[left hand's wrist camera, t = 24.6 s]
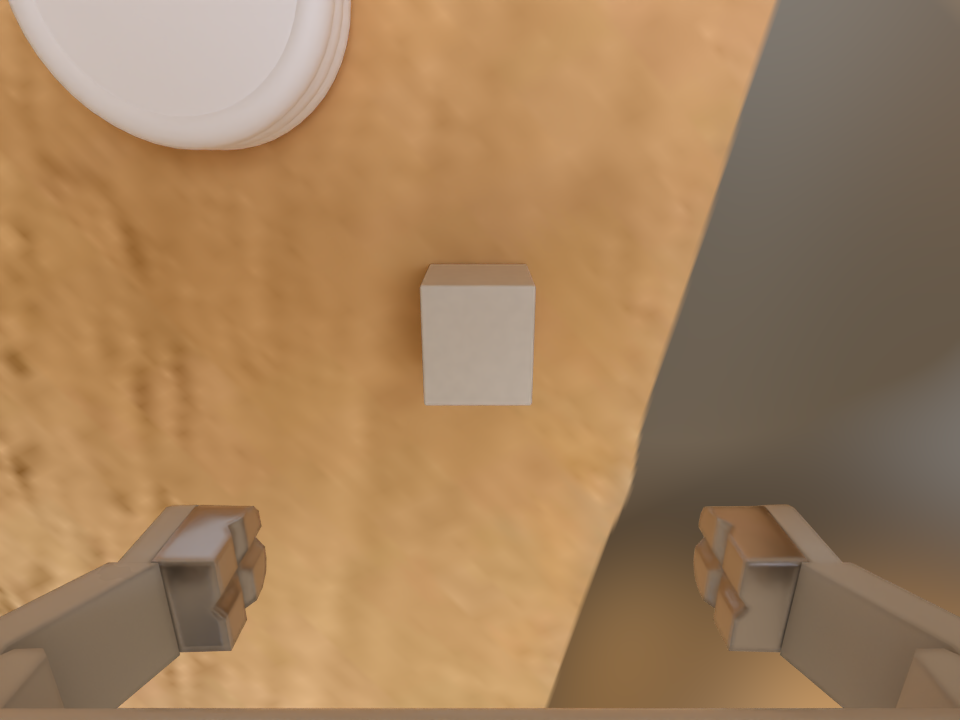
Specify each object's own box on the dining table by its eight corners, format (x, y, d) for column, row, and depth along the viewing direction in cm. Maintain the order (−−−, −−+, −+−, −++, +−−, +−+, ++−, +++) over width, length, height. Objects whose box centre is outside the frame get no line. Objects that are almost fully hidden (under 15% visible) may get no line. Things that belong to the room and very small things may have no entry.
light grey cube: (524, 367, 25) (532, 406, 21) (432, 367, 25) (423, 406, 21) (527, 263, 23) (536, 285, 20) (429, 263, 23) (419, 285, 20)
